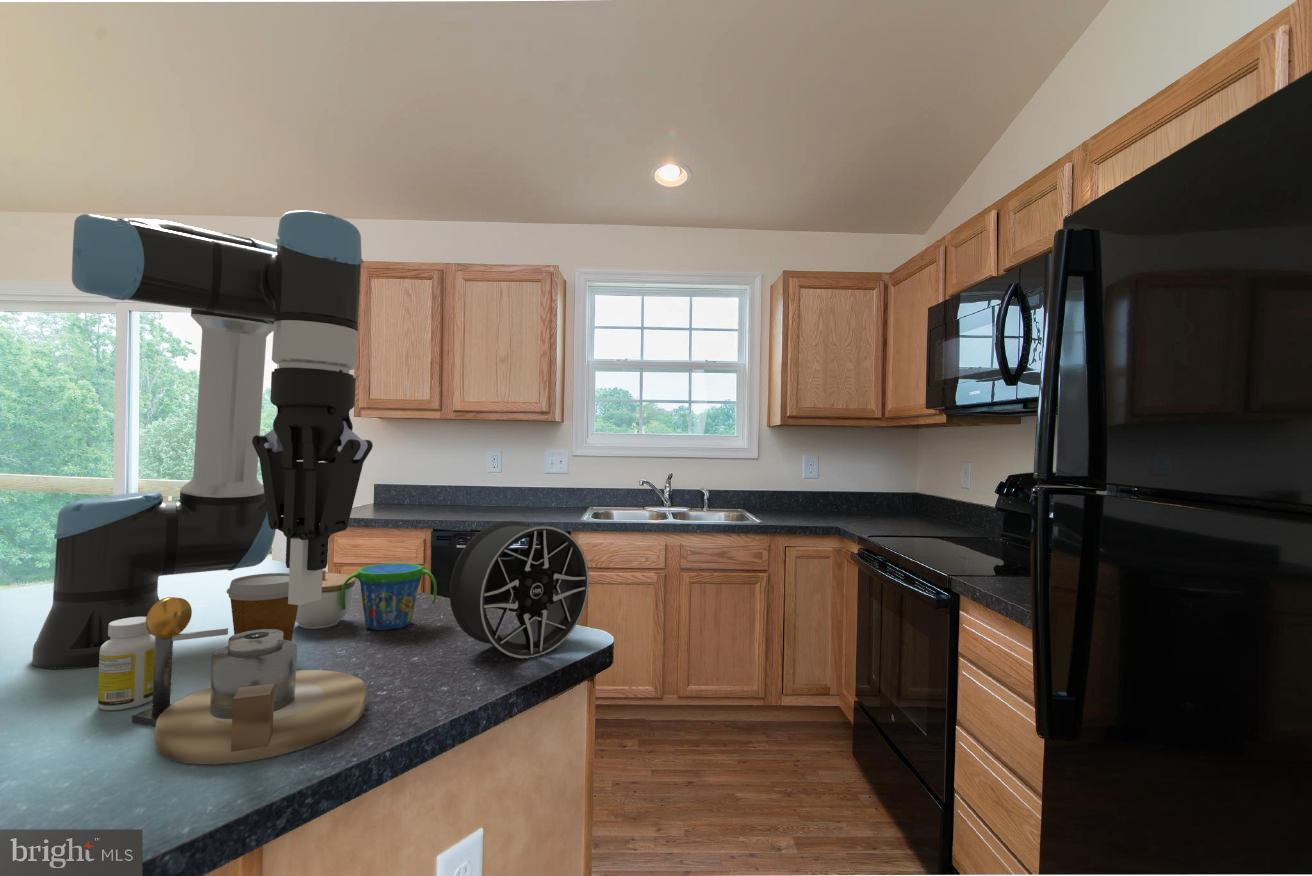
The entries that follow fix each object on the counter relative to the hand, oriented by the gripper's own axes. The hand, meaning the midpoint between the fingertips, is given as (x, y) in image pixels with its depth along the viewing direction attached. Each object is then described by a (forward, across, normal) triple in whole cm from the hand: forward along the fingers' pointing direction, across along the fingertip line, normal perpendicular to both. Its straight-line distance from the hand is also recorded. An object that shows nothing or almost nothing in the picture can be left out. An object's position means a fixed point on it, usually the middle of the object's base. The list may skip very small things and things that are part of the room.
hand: (304, 601), depth 62 cm
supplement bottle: (+17, +30, -4) cm, 34 cm away
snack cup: (+17, +22, -41) cm, 50 cm away
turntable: (+16, +9, -5) cm, 19 cm away
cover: (+14, +11, -4) cm, 18 cm away
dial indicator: (+16, +20, -4) cm, 26 cm away
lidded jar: (+17, +34, -38) cm, 54 cm away
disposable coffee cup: (+17, +27, -20) cm, 37 cm away
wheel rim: (+16, -5, -37) cm, 41 cm away
